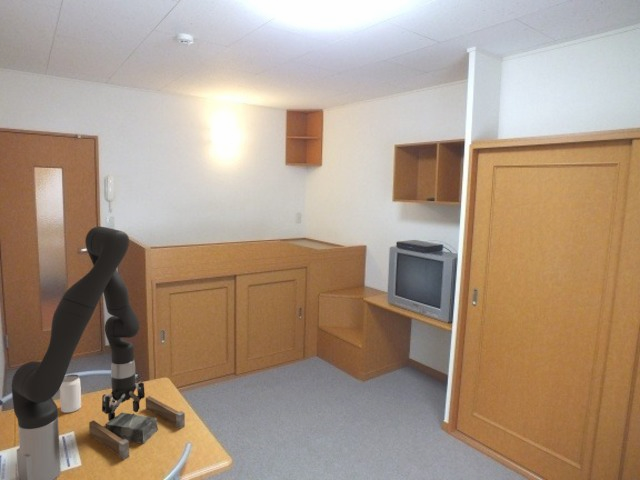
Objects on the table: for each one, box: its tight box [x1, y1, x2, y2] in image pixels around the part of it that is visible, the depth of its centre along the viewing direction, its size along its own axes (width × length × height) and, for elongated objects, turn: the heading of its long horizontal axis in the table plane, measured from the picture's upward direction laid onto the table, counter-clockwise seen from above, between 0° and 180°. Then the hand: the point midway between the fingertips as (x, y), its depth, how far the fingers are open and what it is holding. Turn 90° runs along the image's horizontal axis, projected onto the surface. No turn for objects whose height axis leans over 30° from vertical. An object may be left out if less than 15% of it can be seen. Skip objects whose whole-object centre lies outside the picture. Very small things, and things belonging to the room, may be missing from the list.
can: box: [59, 373, 82, 414], centre depth 153 cm, size 6×6×12 cm
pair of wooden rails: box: [88, 395, 186, 461], centre depth 142 cm, size 22×20×5 cm
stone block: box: [104, 412, 159, 445], centre depth 141 cm, size 9×14×5 cm, turn 76°
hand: (124, 416), depth 146 cm, fingers open, 8 cm apart
